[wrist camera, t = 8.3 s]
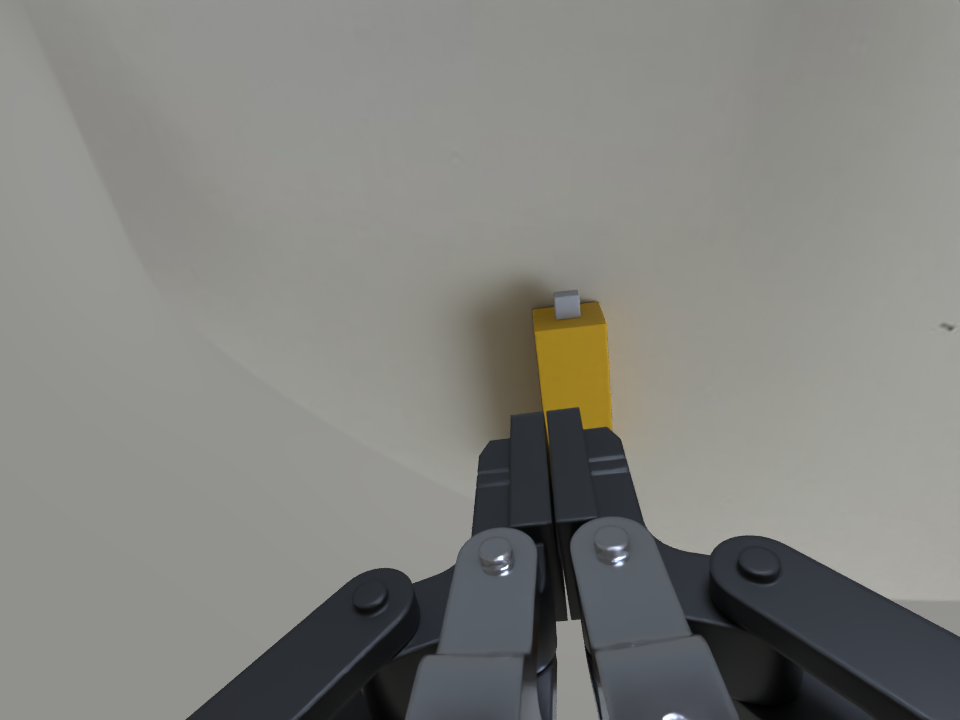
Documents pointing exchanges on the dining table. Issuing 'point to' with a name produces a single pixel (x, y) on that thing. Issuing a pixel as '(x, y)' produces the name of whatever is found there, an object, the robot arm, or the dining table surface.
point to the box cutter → (574, 358)
